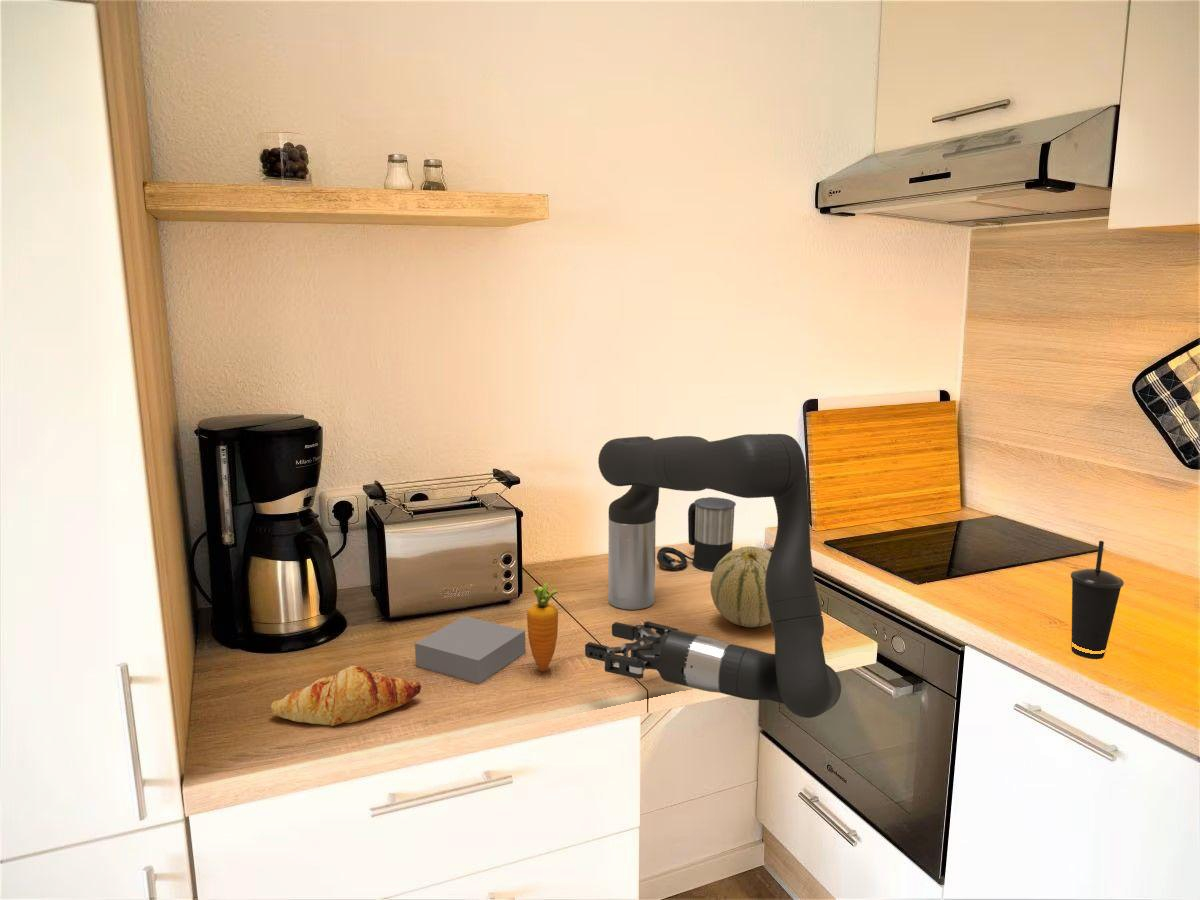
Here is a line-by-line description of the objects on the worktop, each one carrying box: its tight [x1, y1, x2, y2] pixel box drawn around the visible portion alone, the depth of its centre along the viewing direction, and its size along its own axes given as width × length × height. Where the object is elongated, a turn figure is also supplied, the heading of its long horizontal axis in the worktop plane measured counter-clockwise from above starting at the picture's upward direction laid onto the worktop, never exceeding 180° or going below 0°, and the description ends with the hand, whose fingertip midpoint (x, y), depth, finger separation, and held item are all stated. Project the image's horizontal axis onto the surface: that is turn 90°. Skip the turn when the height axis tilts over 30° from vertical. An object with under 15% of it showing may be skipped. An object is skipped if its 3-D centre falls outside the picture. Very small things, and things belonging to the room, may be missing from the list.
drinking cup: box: [1070, 540, 1125, 660], centre depth 137 cm, size 8×8×20 cm
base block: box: [414, 615, 526, 685], centre depth 136 cm, size 13×13×4 cm
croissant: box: [270, 665, 422, 727], centre depth 119 cm, size 21×10×8 cm, turn 106°
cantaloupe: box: [710, 546, 772, 628], centre depth 149 cm, size 15×15×15 cm
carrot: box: [526, 582, 559, 673], centre depth 130 cm, size 5×5×15 cm
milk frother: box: [656, 496, 737, 572], centre depth 181 cm, size 14×16×15 cm
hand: (599, 638), depth 125 cm, fingers open, 8 cm apart
